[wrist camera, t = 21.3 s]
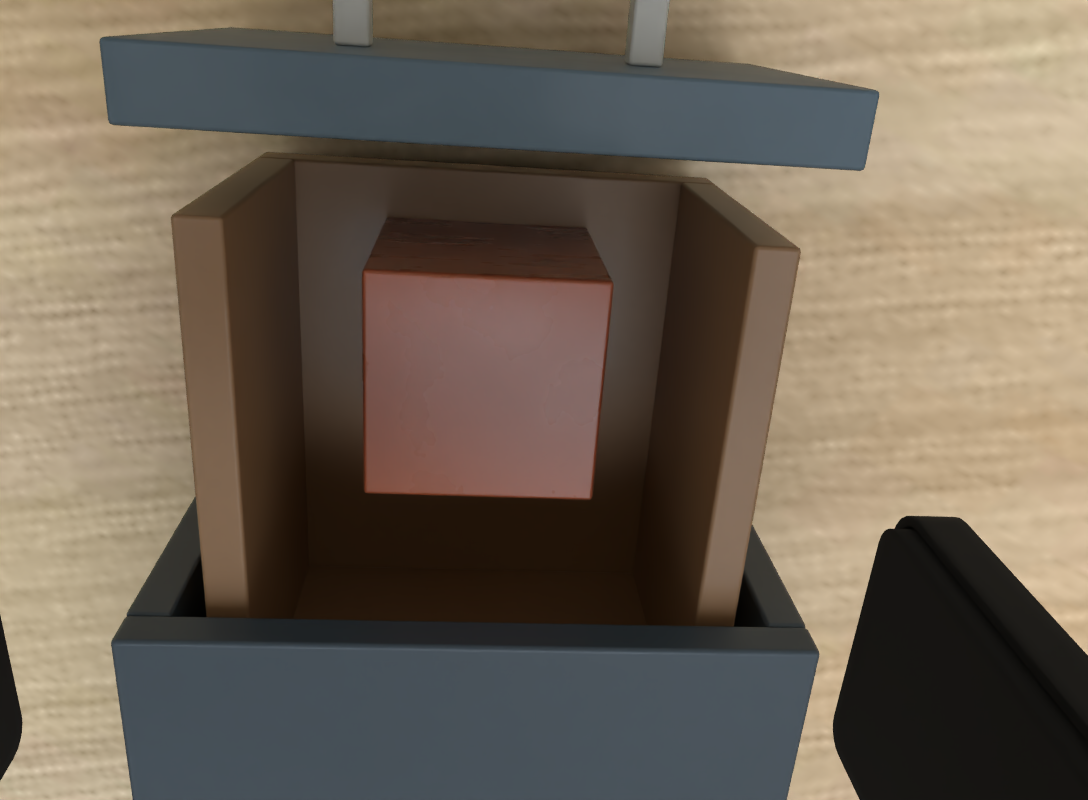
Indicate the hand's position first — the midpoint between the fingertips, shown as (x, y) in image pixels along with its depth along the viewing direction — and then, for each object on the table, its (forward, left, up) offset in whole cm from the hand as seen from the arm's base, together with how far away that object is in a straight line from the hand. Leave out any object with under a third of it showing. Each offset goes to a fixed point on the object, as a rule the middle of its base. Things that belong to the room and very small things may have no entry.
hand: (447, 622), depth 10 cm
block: (0, +1, -12) cm, 12 cm away
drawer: (-1, 0, -13) cm, 13 cm away
